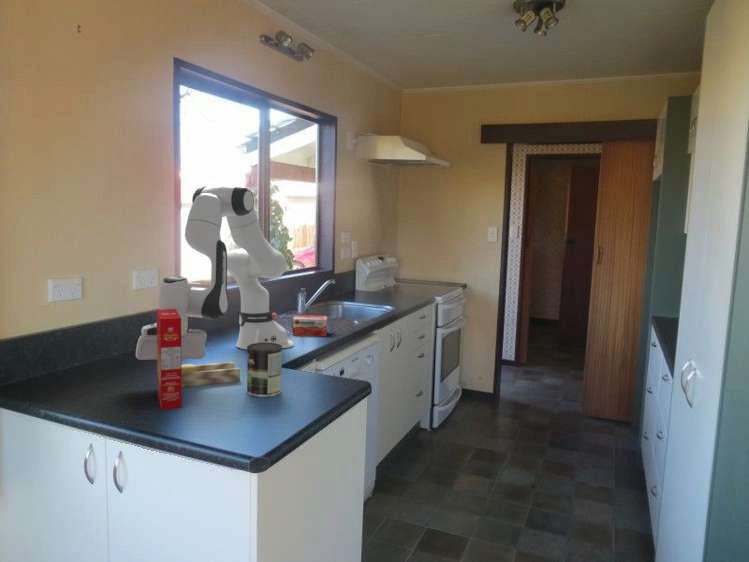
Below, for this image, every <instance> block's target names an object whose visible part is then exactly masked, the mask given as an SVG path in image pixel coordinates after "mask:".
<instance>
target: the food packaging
mask: <svg viewBox="0 0 749 562" xmlns="http://www.w3.org/2000/svg"><path fill="white" fill-rule="evenodd" d="M156 323H157V359H156V362H157V363H156V364H157V365H156V366H157V372H156V373H157V376H156V377H157V396H158V402H159V405H160V410H161V411H165V410H175V409H182V405H183V393H182V392H183V391H182V388H183V387H182V365H183V364H182V359H181V317H180V315H179V313H178V312H177V310H176V309H164V310H159V309H156Z"/></svg>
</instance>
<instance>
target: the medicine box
mask: <svg viewBox="0 0 749 562" xmlns="http://www.w3.org/2000/svg"><path fill="white" fill-rule="evenodd" d="M291 328H292V329H291V330H292V336H298V337H326V336H327V335H328V334H327V333H328V315H307V314H306V315H304V314H303V315H301V314H300V315H298V314H295V315H294V316H293V319H292V327H291Z"/></svg>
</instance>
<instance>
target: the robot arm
mask: <svg viewBox="0 0 749 562" xmlns="http://www.w3.org/2000/svg"><path fill="white" fill-rule="evenodd" d="M191 201H192V205H191V206H190V210H189V212H188V217H187V219H186V220H187V221H186V225H185V229H184V230H185V231H184V237H185V240H186V242H187V244H188V246H189V247H190V248H192V249H193V250H195V251H196V252H198V253H199V254H203V255H204V256H205V257H208V258H209V260H210V263H211V269H210V271H211V272H210V275H211V276H210V286H209V287H200V286H199V287H197V286H196V287H195V286H192V285H190V283H189V281H188V278H187V277H185V276H178V275H174V276H167V277H165V278H163V279H162V280H161V283H160V285H159V286H160V287H159V292H158V305H157V306H158V310H164V309H176V310H177V312H178V313H179V315H180V317H181V360H202V359H204V358H205V356H206V346H205V343H206V342H207V338H208V337H207V332H206V331H205V330H202V329H200V328H196V329H195V328H188V320H189V319H188V317H192V318H203V319H206V320H213V321H216V320H218V319H220V318H222V316H224V315H225V314H227V311H228V307H229V297H228V287H227V285H228V278H227V277H228V273H229V274H230V275H231V276H232V277H233V279H234V280H235V282H236V284H237V286H238V289H239V293H240V295H239V296H240V311H239V319H238V320H239V334H238V339H237V343H236V345H235V346H236V348H239V349H242V350H247V346H248V345H250V344H254V343H276V344H279V345H281V346H282V349H287V348H292V347H294V342H293V341H292V340H290V339H289V338H288V332H287V330H286V329H285V328H284V327H283V326H282V325H280V324H279V323H278V322H276V321H275V320H274V319H277V318H278V314H277V313H276V312H272V311H270V293H269V291H268V289H267V288H265V287H264V286H263V285H262V284H261V283H260V281H259V278H261V279H263V278H264V279H273V278H279V277H282V276H283V274H284V273H285V271H286V269H287V260H286V258H285V256H284V254H283V253H281V252H280V251H278V250H277V249H275V248H274V247H273V246H272V245H271V244H270V243H269V242H268V240H267V239H266V238H265V236H264V233H263V232H262V231H263V230H262V229H261V226H260V222H259V219H258V215H257V212H256V210H255V207H254V204H255V199H254V195H253V192H252V191H251V190H250V189H249V188H248V187H247V186H244V185H239V184H238V185H230V184H221V185H212V186H211V185H210V186H208V185H205V186H201V187H199V188H196V190H195V191H194V193H193V195H192V200H191ZM223 217H224V218H226V222H227V225H228V228H229V230H230V235H231V237H232V240H233V242H234V244H235V245H237V247H239V248H236V249H231V250H229V251H228V250H227V247H226V244H225V242H224V241H222V239H221V229H222V221H223ZM227 251H228V252H227ZM140 331H141V335H140V336H139V337H138V340H137V344H136V349H135V357H136V359H138V360H142V361H144V360H146V361H147V360H157V322H155V323H151V324H147V325H144V326H142V327H141V330H140Z"/></svg>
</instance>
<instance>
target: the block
mask: <svg viewBox="0 0 749 562" xmlns="http://www.w3.org/2000/svg"><path fill="white" fill-rule="evenodd" d="M187 372H195V367H194V363H187V364H182V373H187Z"/></svg>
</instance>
